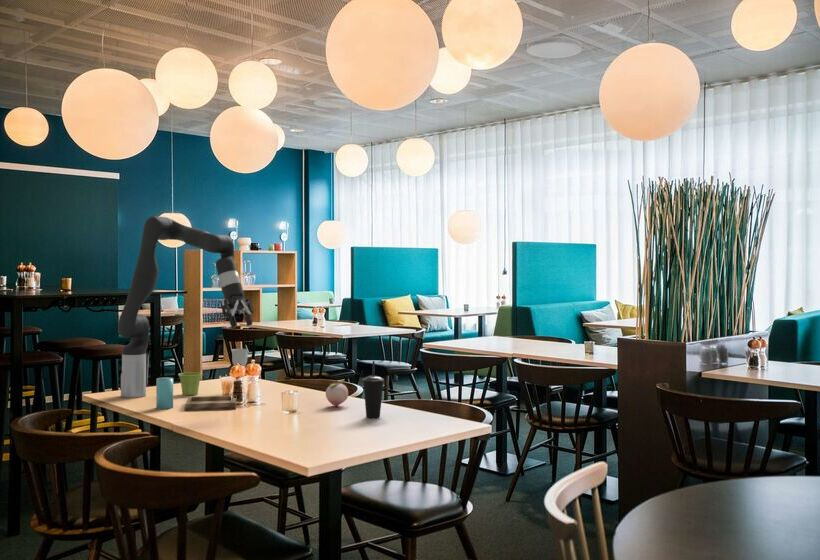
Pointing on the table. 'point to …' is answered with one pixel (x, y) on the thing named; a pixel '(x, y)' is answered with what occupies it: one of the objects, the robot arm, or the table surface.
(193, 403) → the walnut tray
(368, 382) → the drinking cup
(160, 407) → the teal tumbler
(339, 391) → the decorative fruit
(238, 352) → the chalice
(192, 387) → the plant pot
